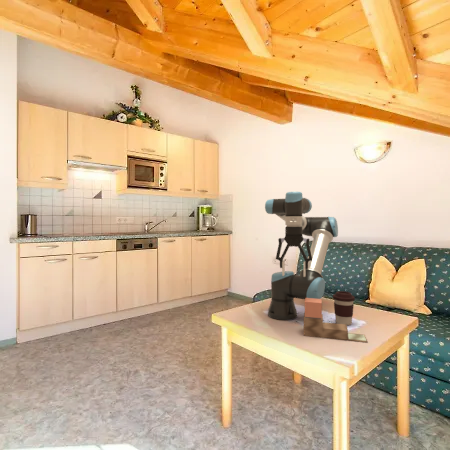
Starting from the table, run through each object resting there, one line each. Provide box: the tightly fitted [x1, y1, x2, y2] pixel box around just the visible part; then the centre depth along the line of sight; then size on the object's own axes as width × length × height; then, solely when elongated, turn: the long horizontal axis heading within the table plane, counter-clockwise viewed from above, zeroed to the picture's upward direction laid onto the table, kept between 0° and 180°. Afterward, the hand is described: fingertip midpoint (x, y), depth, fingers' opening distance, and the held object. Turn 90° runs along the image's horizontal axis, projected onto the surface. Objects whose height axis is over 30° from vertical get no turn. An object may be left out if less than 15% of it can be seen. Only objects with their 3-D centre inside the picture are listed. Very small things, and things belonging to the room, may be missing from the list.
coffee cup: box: [332, 290, 356, 326], centre depth 144 cm, size 10×10×15 cm
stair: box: [303, 312, 368, 344], centre depth 129 cm, size 26×8×8 cm, turn 72°
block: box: [304, 298, 323, 319], centre depth 131 cm, size 7×7×7 cm
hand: (293, 275), depth 134 cm, fingers open, 9 cm apart
